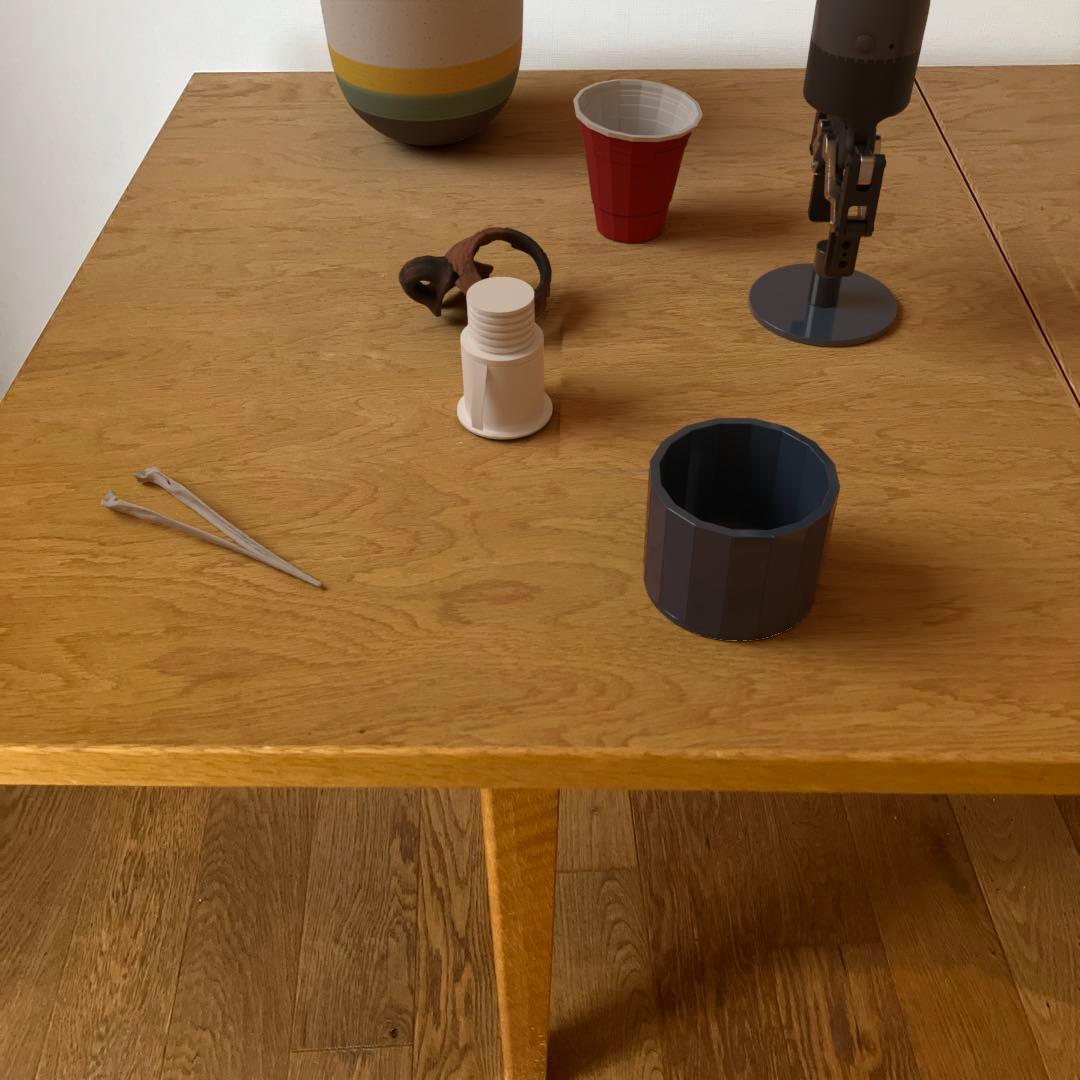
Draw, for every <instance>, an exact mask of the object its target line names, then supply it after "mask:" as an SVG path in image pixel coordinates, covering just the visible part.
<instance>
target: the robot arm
mask: <svg viewBox="0 0 1080 1080" xmlns="http://www.w3.org/2000/svg"><path fill="white" fill-rule="evenodd" d="M930 7H931V0H815V5H814V13H813V19H812V26H811V32H810V40H809V47H808V53H807V61H806V65H805V66H806V68H805V74H804V80H803V86H802V87H803V88H802V96H803V98H804V100H805V102H806V103H807V104H808V105H809V106H810V107H811V108H813V110H816V111H815V116H814V123H813V127H812V133H811V139H810V144H809V146H808V150H809V153H810V156H812V161H811V163H810V168H811V172H812V174H813V177H812V183H811V188H810V189H811V190H810V195H809V202H808V208H807V216H808V219H809V221H810V222H813V223H828V227H829V232H828V237H827V239H828V242H827V248H826V253H825V259H824V264H823V269H824V273H825V275H826V276H829V277H849V276H851V275H852V274H853V273H854V270H856V269H855V267H856V263H857V258H858V253H859V249H860V243H861V239H862V238H871V237H872V236H873V233H874V231H875V222H876V216H877V211H878V205H879V200H880V196H881V195H880V194H881V190H882V184H883V179H884V175H885V169H886V166H887V159H886V154H885V153H881V151H882V136H881V134H877V132H878V131H877V130H878V129H877V126H878V124H880V123H881V122H882V121H884V120H886V119H888V118H893V117H895V116H897V115H899V114H901V113H902V112H904V111H905V110H906V109H907V108H908V106H909V104H910V102H911V99H912V94H913V88H914V84H915V80H916V74H917V70H918V65H919V61H920V56H921V53H922V52H921V51H922V47H923V42H924V36H925V32H926V27H927V23H928V18H929V14H930ZM853 207H857V215H849V212H850V209H851V208H853Z"/></svg>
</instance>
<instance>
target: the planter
mask: <svg viewBox="0 0 1080 1080" xmlns="http://www.w3.org/2000/svg"><path fill="white" fill-rule="evenodd" d="M319 3H320V8H321V15H322V20H323V26H324V32H325V37H326V43H327V49H328V52H329V57H330V62H331V66H332V69H333V72H334V75H335V78H336V81H337V84H338V86H339V88H340V90H341V93H342V94H343V97H344V98H345V100H346V102H347V103H348V104H349V106H350V107H351V109H352V110H353V112H354V113H355V114H356V115H357V116H358V117H359V118H361V120H363V122H365V123H366V124H367V125H368V126H370V127H371V128H372V129H374V130H376V131H377V132H378V133H380V134H382V135H384V136H385V137H387V138H389V139H392V140H394V141H397V142H400V143H402V144H403V143H404V144H408V145H413V146H425V147H432V146H444V145H449V144H454V143H457V142H460V141H462V140H465V139H468V138H469V137H472V136H473V135H476V134H477V133H478V132H480V131H481V130H482V129H484V128H485V127H486V126H488V125H489V124H490V123H491V122H492V121H493V120H494V119H495V118H496V117H497V116H498V115H499V114H500V113H501V112H502V111H503V109H504V108H505V106H506V105H507V104H508V102H509V100H510V98H511V96H512V94H513V91H514V89H515V86H516V83H517V79H518V75H519V71H520V66H521V60H522V52H523V41H524V39H523V38H524V37H523V35H524V0H319Z"/></svg>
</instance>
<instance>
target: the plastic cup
mask: <svg viewBox="0 0 1080 1080" xmlns="http://www.w3.org/2000/svg"><path fill="white" fill-rule="evenodd" d="M572 101H573V107H574V112H575V118H577V119H578V122H579V127H580V132H581V138H582V142H583V146H584V151H585V152H584V154H585V160H586V167H587V175H588V176H587V177H588V183H589V190H590V197H591V202H592V204H593V212H594V218H595V226H596V229H597V231H598V233H599V234H600V235H601V236H603V237H604V238H605V239H608V240H610V241H612V242H615V243H622V244H642V243H645V242H649V241H653V240H654V239H655V238H657V237H658V236H660V235H661V234H662V232H663V230H664V229H665V225H666V221H667V217H668V212H669V208H670V204H671V202H672V200H673V196H674V192H675V189H676V186H677V182H678V177H679V173H680V170H681V165H682V162H683V159H684V155H685V154H684V153H685V150H686V148H687V146H688V144H689V140H690V137H692V133H693V132H694V131H695V130H696V129H697V127H698V125H699V123H700V121H701V120H702V117H703V115H704V114H703V111H702V109H701V105H700V103H699V102H698V101H697V100H695V98H693V97H692V96H690V95H689V94H688V93H687V92H685V91H683V90H680V89H678V88H676V87H674V86H671V85H668V84H666V83H661V82H656V81H650V80H646V79H636V78H635V79H632V78H631V79H630V78H615V79H610V80H609V79H608V80H603V81H597V82H595V83H592V84H590V85H588V86H586V87H584V88H582V89H580V90H579V91H578V93H577V94H576V95H575V97H573V99H572Z"/></svg>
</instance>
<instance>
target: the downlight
mask: <svg viewBox="0 0 1080 1080" xmlns="http://www.w3.org/2000/svg"><path fill="white" fill-rule="evenodd" d="M534 290H535V289H534V288H533V287H532V286H531V285H530V284H529V283H528V282H526V281H524V280H522V279H520V278H516V277H510V276H493V277H489V278H487V279H484V280H481V281H479V282H477V283H475V284H473V285H472V286H471V287H470V288H469V289H468V291H467V297H466V308H467V309H466V311H467V325H466V326H465V327H464V328H463V330H462V331H461V333H460V336H459V342H460V355H461V370H462V383H463V384H462V385H463V395H462V396H461V397H460V399H458V400H459V401H458V402H457V406H456V415H457V416H456V417H457V419H458V422H459V423H460V424H461V425H462V426H463V427H464V429H466V430H468V431H469V432H470V433H473V434H474V435H477V436H479V437H483V438H486V439H493V440H514V439H520V438H524V437H528V436H530V435H532V434H535V433H536V432H538V431H540V430H541V429H542V428H544V427H545V426H546V425H548V423H549V421H550V420H551V418H552V416H553V413H554V412H553V409H554V407H553V401H552V399H551V397H550V396H549V395H548V394H547V393H546V391H545V335H544V331H543V330H542V328H541V327H540V325H539V324H538V323H536V322H535V321H536V320H535V315H534V313H535V309H534Z"/></svg>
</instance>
